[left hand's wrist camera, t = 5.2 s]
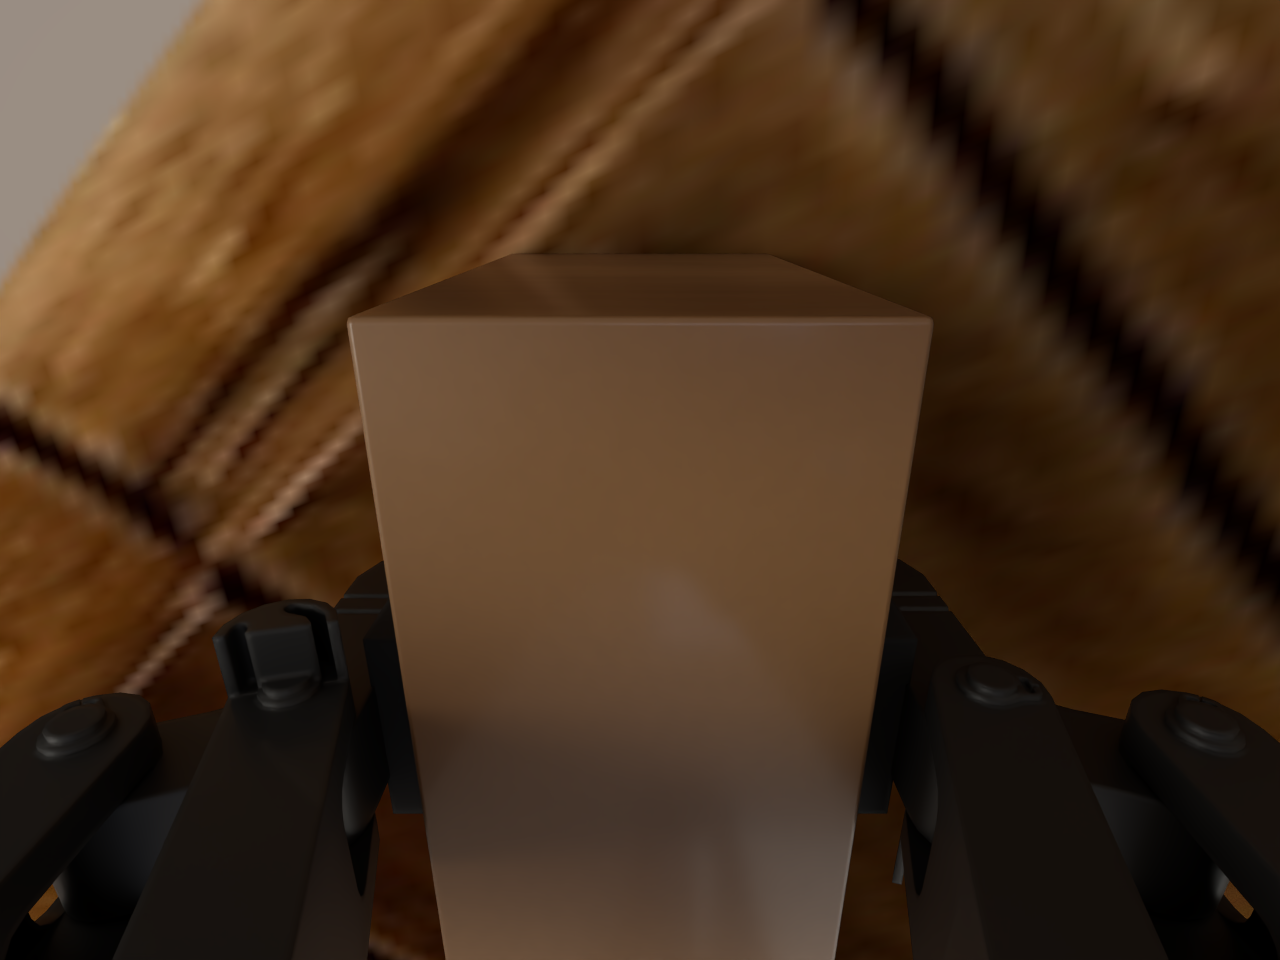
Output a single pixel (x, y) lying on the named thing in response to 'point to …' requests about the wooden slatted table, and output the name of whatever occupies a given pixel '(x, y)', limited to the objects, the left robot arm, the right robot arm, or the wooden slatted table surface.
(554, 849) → the beam
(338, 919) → the left robot arm
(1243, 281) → the wooden slatted table surface
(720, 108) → the wooden slatted table surface
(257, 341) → the wooden slatted table surface
